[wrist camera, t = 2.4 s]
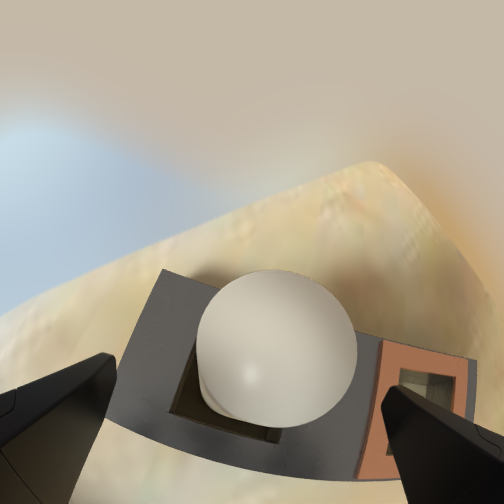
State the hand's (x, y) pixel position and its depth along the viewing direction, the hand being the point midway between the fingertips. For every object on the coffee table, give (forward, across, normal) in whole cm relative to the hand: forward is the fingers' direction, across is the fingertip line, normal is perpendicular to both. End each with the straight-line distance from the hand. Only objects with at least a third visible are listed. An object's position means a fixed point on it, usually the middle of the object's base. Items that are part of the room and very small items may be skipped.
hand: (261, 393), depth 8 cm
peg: (+7, 0, +6) cm, 9 cm away
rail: (+6, -6, +6) cm, 11 cm away
